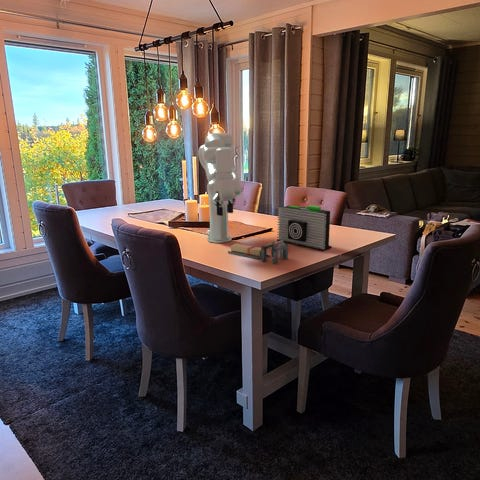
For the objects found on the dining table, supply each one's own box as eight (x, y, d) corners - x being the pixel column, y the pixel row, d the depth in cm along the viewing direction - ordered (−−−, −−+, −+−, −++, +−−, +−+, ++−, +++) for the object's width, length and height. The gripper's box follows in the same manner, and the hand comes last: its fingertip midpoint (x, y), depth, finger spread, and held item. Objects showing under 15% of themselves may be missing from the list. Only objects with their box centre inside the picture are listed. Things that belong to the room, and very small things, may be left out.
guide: (227, 253, 189) (227, 251, 188) (236, 250, 194) (236, 248, 193) (261, 260, 177) (261, 258, 177) (269, 256, 182) (269, 254, 182)
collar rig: (261, 261, 175) (261, 244, 173) (275, 255, 184) (275, 238, 182) (275, 264, 171) (275, 246, 169) (289, 258, 179) (289, 241, 178)
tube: (231, 253, 189) (230, 244, 188) (236, 251, 192) (236, 242, 191) (259, 259, 180) (259, 250, 178) (264, 257, 183) (264, 248, 182)
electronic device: (273, 242, 207) (273, 203, 202) (286, 238, 215) (287, 201, 210) (319, 252, 188) (320, 210, 183) (332, 248, 195) (334, 207, 190)
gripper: (229, 173, 193) (230, 210, 198) (205, 177, 180) (206, 216, 185) (242, 174, 189) (242, 212, 194) (218, 177, 176) (219, 218, 180)
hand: (225, 213), depth 189 cm, fingers open, 6 cm apart
